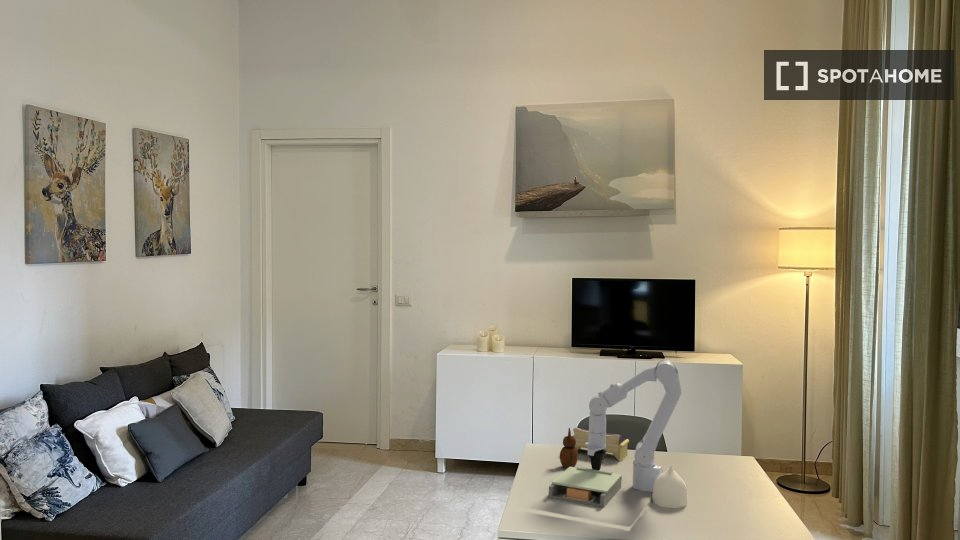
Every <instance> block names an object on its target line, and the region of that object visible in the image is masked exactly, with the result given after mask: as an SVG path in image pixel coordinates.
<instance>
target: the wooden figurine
mask: <svg viewBox="0 0 960 540" xmlns="http://www.w3.org/2000/svg"><path fill="white" fill-rule="evenodd" d="M572 436H573V435H572V431H571V427H568V432H567V435H566V436H564V437H563V439H562V445H563V447H562V448H561V449H560V451H559V460H560V465H561V467H563V468H564V469H568V468H569V467H576V465H577V463H578V459H579V450H577V449H576V447H574V446H575V445H576V439H575V438H574V437H572Z"/></svg>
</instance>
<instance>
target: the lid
mask: <svg viewBox="0 0 960 540" xmlns="http://www.w3.org/2000/svg"><path fill="white" fill-rule="evenodd" d="M621 477H622V474H620V473H619V474H618V473H613V472H611V471H605V470H601V469H600V470H594V469H592V468H586V467H581V466H577V467H576V466H575V467H569V468H565V470H564V471H563V472H562V473H560V474H559V475H558V476H557V477H556V478H554V480H552V481H551V484H556V485H562V486H568V487H574V488H580V489H586V490H592V491H598V492H604V493H607V492H608V491H609V490H610V489H611V488H612V487H613V486H614V484H615V483H616V482H617V481H618V480H619V479H620V478H621Z"/></svg>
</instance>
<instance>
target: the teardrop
mask: <svg viewBox="0 0 960 540" xmlns="http://www.w3.org/2000/svg"><path fill="white" fill-rule="evenodd" d="M651 502H653V504H655V505H657V506H659V507H663V508H669V509H680V508H685V507H687V506H688V488H687V485H686V482H685V481H684V480H683V478H682V477H681V476H680V475H679V474H678V473H677V472H676V471H675V470H674V469H673V466H672V465H670V466H669V467H668V469H667V470H665V471H663V472H662V474H660V476H659V477H658V478H657V479H656V480H655V483H654V486H653V492H652V495H651Z"/></svg>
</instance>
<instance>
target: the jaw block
mask: <svg viewBox="0 0 960 540" xmlns="http://www.w3.org/2000/svg"><path fill="white" fill-rule="evenodd" d="M567 497H569V498H575V499H581V500H586V501H590V500H591V490H586V489H580V488H574V487H568V488H567Z"/></svg>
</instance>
